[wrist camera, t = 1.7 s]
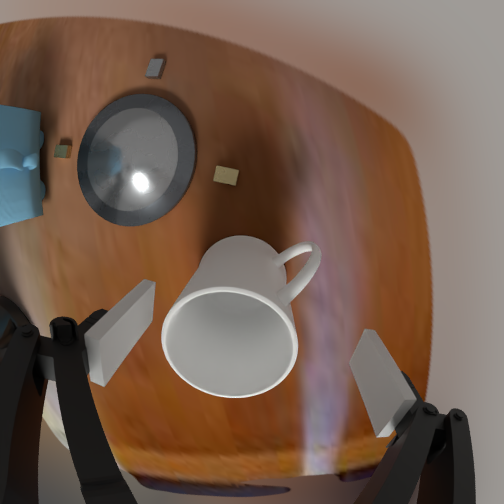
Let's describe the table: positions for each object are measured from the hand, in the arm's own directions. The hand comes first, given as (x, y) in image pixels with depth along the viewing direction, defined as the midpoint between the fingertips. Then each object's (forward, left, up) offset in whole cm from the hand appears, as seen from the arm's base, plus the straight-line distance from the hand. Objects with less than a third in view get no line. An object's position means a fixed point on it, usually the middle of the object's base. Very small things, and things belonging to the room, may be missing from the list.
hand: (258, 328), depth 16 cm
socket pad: (-14, +10, -11) cm, 21 cm away
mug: (0, 0, -11) cm, 11 cm away
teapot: (-32, +8, -11) cm, 35 cm away
